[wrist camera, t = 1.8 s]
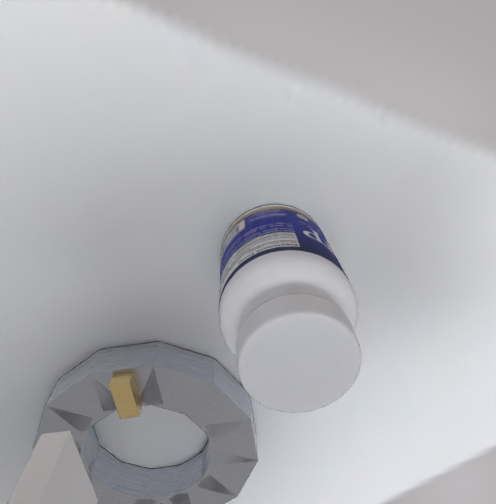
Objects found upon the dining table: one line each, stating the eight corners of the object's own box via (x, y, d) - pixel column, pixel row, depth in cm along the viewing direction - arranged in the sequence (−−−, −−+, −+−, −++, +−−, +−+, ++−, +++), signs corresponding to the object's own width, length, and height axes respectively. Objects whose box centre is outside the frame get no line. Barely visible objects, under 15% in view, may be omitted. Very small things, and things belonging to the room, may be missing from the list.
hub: (82, 505, 29) (69, 549, 26) (20, 360, 24) (-4, 396, 21) (263, 482, 29) (267, 523, 26) (239, 330, 24) (240, 364, 21)
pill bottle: (340, 272, 23) (403, 395, 15) (248, 312, 23) (260, 450, 15) (300, 183, 21) (349, 267, 12) (201, 229, 21) (186, 337, 13)
